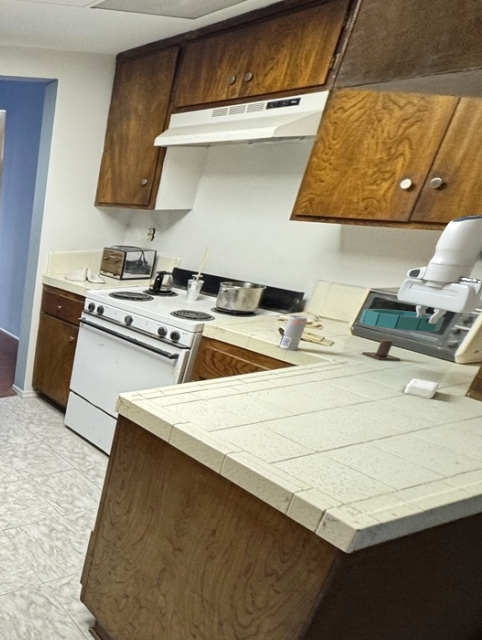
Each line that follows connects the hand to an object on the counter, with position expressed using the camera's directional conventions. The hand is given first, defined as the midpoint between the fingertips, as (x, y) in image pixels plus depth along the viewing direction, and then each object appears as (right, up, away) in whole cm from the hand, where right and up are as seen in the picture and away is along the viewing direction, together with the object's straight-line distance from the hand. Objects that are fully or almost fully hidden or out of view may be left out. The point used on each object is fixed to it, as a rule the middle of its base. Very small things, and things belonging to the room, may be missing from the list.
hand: (425, 321), depth 140 cm
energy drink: (-12, -5, +35) cm, 37 cm away
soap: (-8, -22, -6) cm, 24 cm away
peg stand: (+13, -9, +26) cm, 31 cm away
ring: (+1, 0, +8) cm, 8 cm away
